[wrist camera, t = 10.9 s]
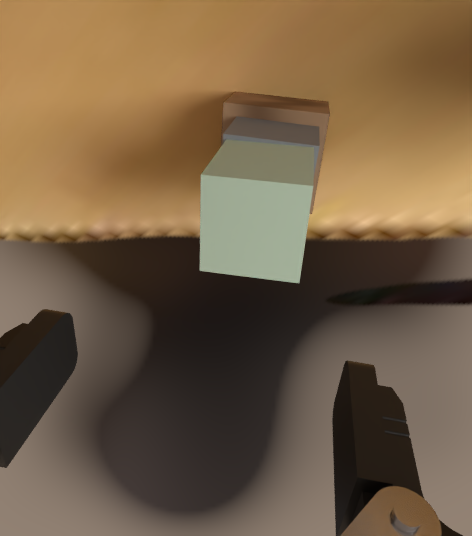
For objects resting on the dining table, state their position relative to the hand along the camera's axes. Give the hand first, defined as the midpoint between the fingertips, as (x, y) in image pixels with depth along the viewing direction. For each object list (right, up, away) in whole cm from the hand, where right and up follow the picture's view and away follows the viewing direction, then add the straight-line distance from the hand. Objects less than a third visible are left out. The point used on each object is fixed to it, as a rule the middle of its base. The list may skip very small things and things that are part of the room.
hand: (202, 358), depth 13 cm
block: (+3, +8, +13) cm, 16 cm away
